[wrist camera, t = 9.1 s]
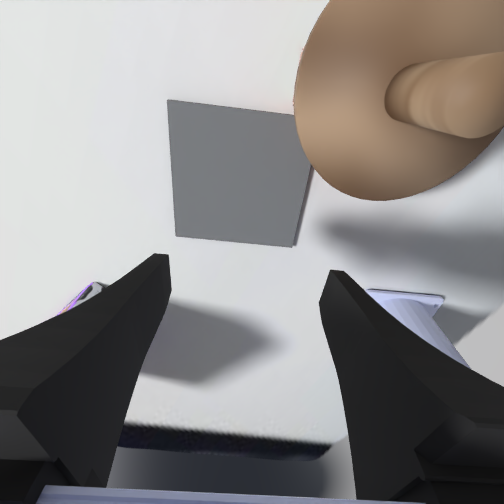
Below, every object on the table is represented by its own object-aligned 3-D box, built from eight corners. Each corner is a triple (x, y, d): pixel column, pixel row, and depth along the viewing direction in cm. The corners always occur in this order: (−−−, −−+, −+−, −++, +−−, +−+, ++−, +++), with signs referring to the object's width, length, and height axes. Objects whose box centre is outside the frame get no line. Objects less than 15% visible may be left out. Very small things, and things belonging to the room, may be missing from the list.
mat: (291, 245, 22) (292, 247, 22) (176, 233, 22) (175, 236, 22) (320, 118, 17) (321, 118, 17) (168, 99, 17) (166, 100, 16)
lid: (436, 208, 17) (513, 261, 12) (272, 176, 16) (280, 219, 11) (585, -29, 11) (871, -127, 6) (338, -105, 10) (426, -305, 5)
